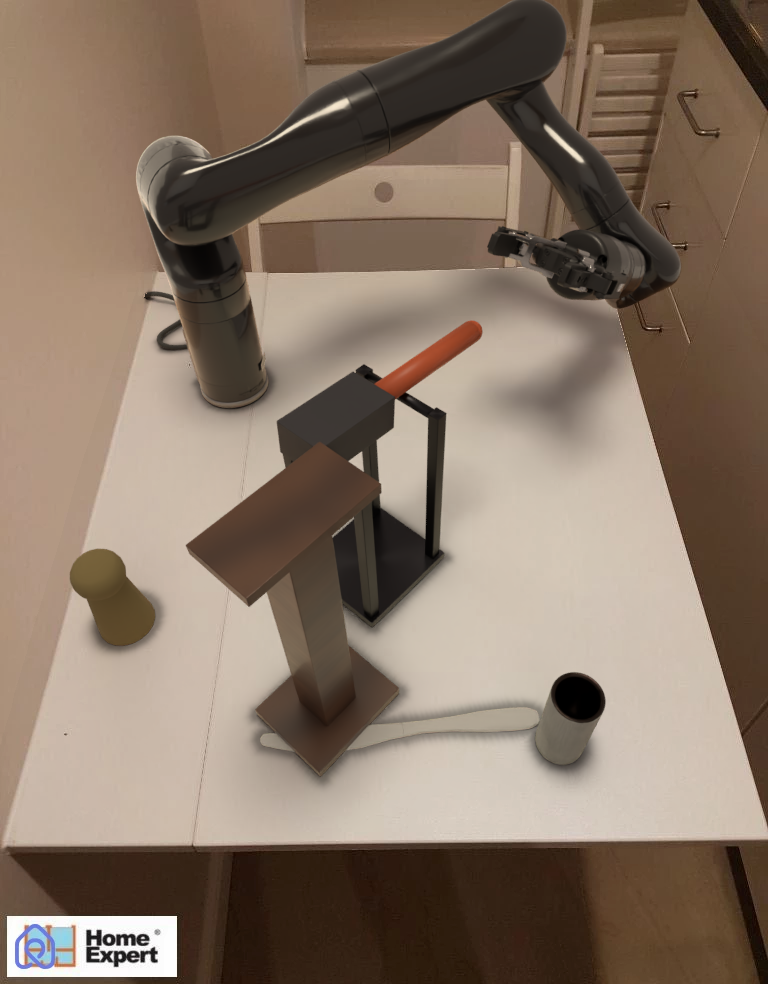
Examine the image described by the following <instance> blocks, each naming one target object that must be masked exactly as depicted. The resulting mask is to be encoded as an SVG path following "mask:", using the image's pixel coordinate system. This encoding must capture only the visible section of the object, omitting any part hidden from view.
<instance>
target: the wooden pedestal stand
mask: <svg viewBox="0 0 768 984" xmlns="http://www.w3.org/2000/svg"><path fill="white" fill-rule="evenodd" d="M382 491H383V490H382V483H381V482H380V481H379V482H378V481H376V480H375V479H373V478H372V477H370V476H369V475H368V474H366V473H365V472H364V470H362V469H360V468H359V467H358V466H356V465H354V464H353V463H352V462H350V460H349V461H347V460H346V459H344V458H343V457H341V456H340V455H338V454H337V453H336V452H334V451H333V450H331V449H330V448H328V447H327V446H325V445H324V444H322V443H321V442H319V443H317V444H316V445H315V446H313V447H312V448H311V449H309V450H308V451H307V452H306V453H304V454H303V455H302V456H300V457H299V458H298V459H296V460H295V461H294V462H293V463H291V464H290V465H289V466H287V467H286V468H285V467H284V469H282V470H281V471H280V472H278V473H277V474H275V475H274V476H273V477H272V478H271V479H269V480H268V481H266V482H265V483H264V484H262V485H261V486H260V487H259V488H258V489H257V490H255V491H253V492H252V493H251V494H250V495H248V496H247V497H246V498H245V499H243V500H242V501H241V502H239V503H238V504H237V505H235V506H234V507H233V508H232V509H230V510H229V511H228V512H226V513H225V514H224V515H222V516H221V517H219V519H217V520H216V521H215V522H213V523H212V524H210V525H209V526H208V527H207V528H206V529H205V530H203V531H202V532H200V533H199V534H198V535H196V536H195V537H194V538H193V539H191V540H190V541H188V543H186V544H185V547H186V550H187V552H188V554H189V555H190V556H191V557H192V558H193V559H194V560H196V561H197V562H198V563H199V564H200V565H201V566H202V567H203V568H205V570H207V571H208V572H209V573H210V574H211V575H212V576H213V577H214V578H216V579H217V580H218V581H219V582H220V583H221V584H222V585H224V586H225V587H226V588H227V589H228V590H229V591H230V592H231V593H233V595H234V596H235V597H237V598H238V599H239V600H240V601H241V602H243V603H244V604H245V605H246V606H247V607H249V608H251V606H253V605H254V604H255V603H256V602H257V601H258V600H259V599H261V598H262V597H263V596H264V595H265V594H267V599H268V601H269V606H270V608H271V611H272V615H273V618H274V621H275V626H276V628H277V632H278V635H279V638H280V642H281V645H282V648H283V652H284V656H285V658H286V662H287V665H288V669H289V672H290V675H289V677H287V679H285V681H283V682H282V683H281V684H280V685H279V686H278V687H277V688H276V689H275V690H274V691H273V692H272V693H271V694H270V695H268V697H267V698H265V699H264V701H262V702H261V703H260V704H259V705H258V706H257V707H256V708H255V709H254V712H255V713H256V715H257V716H258V717H259V718H260V719H261V720H262V721H263V722H264V723H265V724H266V725H267V726H268V727H269V728H270V729H271V730H272V731H273V733H277V734H278V735H279V736H280V737H281V738H282V739H283V740H284V741H285V742H286V743H287V744H288V745H289V746H290V747H291V748H292V749H293V750H294V751H295V752H294V753H295V754H297V755H298V756H299V757H300V758H301V759H302V760H303V761H304V762H305V764H307V765H308V766H309V767H310V768H311V770H312V771H314V772H315V774H317V776H319V777H322V776H323V775H324V774H325V773H326V772H327V771H328V769H330V768H331V766H332V765H333V764H334V763H335V762H336V761H337V760H338V759H339V758H340V757H341V756H342V755H343V754H344V753H345V752H346V751H347V750H346V749H347V748H348V747H349V746H350V745H351V744H352V743H353V742H354V741H355V739H356V738H357V737H358V736H359V735H360V734H361V733H362V732H363V731H364V730H365V729H366V728H367V726H368V725H372V723H373V722H374V721H375V719H377V718H378V717H379V715H380V714H381V713H382V712H383V711H384V710H385V709H386V708H387V707H388V706H389V705H390V704H391V703H392V701H394V699H396V697H397V696H398V695H399V694H400V687H398V686H397V685H396V684H395V683H394V682H393V681H392V680H390V679H389V678H388V677H387V676H385V674H383V673H382V672H381V671H379V669H377V668H376V667H375V666H374V665H373V664H371V662H369V661H368V660H366V659H365V658H364V657H363V656H362V655H361V654H359V653H358V652H357V651H356V650H355V649H353V647H351V646H350V645H349V640H348V634H347V633H348V632H347V627H346V620H345V613H344V606H343V603H342V599H341V592H340V585H339V579H338V572H337V565H336V558H335V551H334V545H333V535H336V534H337V533H338V531H340V529H342V528H344V527H345V525H347V524H348V522H351V521H352V520H353V519H354V516H355V515H357V514H358V513H359V512H360V511H361V510H362V509H363V508H365V507H366V506H367V505H368V504H369V503H370V502H372V501H373V500H374V499H375V498H376V497H377V496H379V495H380V496H381V494H382V493H383V492H382ZM345 750H346V751H345Z"/></svg>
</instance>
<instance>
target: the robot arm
mask: <svg viewBox="0 0 768 984" xmlns="http://www.w3.org/2000/svg"><path fill="white" fill-rule="evenodd" d="M567 31H568V30H567V26H566V22H565V20H564V18H563V15H562V14H561V13H560V11H559V10H558V8H556V6H554V5H553V4H552V3H550V2H549V1H546V0H510V1H508V2H506V3H505V4H503V5H502V6H500V7H498V8H497V9H496V10H495V9H494V11H492V12H490V13H489V14H486V15H485V16H484V17H482V18H481V19H479V20H477V21H476V22H474V23H472V24H470V25H468V26H467V27H465V28H463V29H462V30H459V31H457V32H455V33H453V34H451V35H450V36H448V37H445V38H443V39H441V40H438V41H435V42H432V43H430V44H427V45H423V46H421V47H420V46H419V47H417V48H414V49H411V50H409V51H405V52H402V53H400V54H396V55H395V56H392V57H389V58H386V59H383V60H381V61H378V62H376V63H373V64H370V65H368V66H365V67H362V68H360V69H359V68H358V69H357V70H355V71H353V72H351V73H348V74H346V75H344V76H341V77H339V78H337V79H333V80H332V81H329V82H327V83H325V84H323V85H322V86H320V87H318V88H316V89H315V90H313V91H312V92H311V93H310V94H308V95H307V96H306V97H305V98H304V99H303V100H302V101H301V102H299V104H298V105H297V106H296V107H295V108H293V110H292V111H291V112H290V113H289V114H288V115H287V116H286V117H285V119H283V121H282V122H281V123H280V124H279V125H278V126H277V127H276V128H275V129H274V130H272V131H271V132H269V134H267V135H266V136H264V137H263V138H261V139H260V140H257V141H255V142H253V143H251V144H250V145H247V146H245V147H242V148H239V149H237V150H234V151H233V152H230V153H227V154H224V155H220V156H218V157H215V158H214V157H213V155H212V154H211V153H210V152H209V151H208V150H207V148H205V147H204V146H203V145H201V143H199V142H197V141H196V140H194V139H191V138H189V137H186V136H182V135H167V136H163V137H160V138H158V139H155V140H154V141H153V142H152V143H150V144H149V145H148V146H147V147H146V149H144V151H143V152H142V154H141V156H140V158H139V160H138V162H137V165H136V173H135V181H136V183H135V184H136V189H137V193H138V197H139V200H140V204H141V207H142V210H143V213H144V216H145V219H146V223H147V227H148V228H149V231H150V235H151V237H152V240H153V243H154V247H155V250H156V253H157V256H158V259H159V261H160V263H161V266H162V269H163V271H164V274H165V276H166V279H167V281H168V284H169V287H170V291H171V294H170V293H167V292H162V291H155V290H154V291H153V290H152V291H147V292H145V293H144V294H145V297H144V298H143V299H148V298H151V297H159V298H164V299H167V300H170V301H173V302H174V303H175V307H176V310H177V313H178V317H179V319H178V320H177V321H175V322H173V323H171V324H170V325H168V326H167V327H165V328H164V329H162V330H161V331H160V332H159V333H158V335H157V336H156V343H157V345H158V346H159V347H161V348H162V349H165V350H168V351H170V350H171V351H182V350H188V354H189V357H190V360H191V363H192V366H193V370H194V373H195V376H196V379H197V383H198V384H199V388H200V391H201V395H202V397H203V398H204V399H205V400H206V401H207V402H208V403H210V404H211V405H213V406H215V407H219V408H223V409H234V408H242V407H245V406H247V405H250V404H252V403H254V402H255V401H257V400H259V399H260V398H261V397H262V396H263V395H264V394H265V392H266V391H267V389H268V387H269V376H268V372H267V370H266V369H267V368H266V365H265V364H266V360H267V357H266V353H265V351H264V352H263V350H262V344H261V340H260V336H259V331H258V326H257V320H256V317H255V311H254V306H253V302H252V296H251V291H250V287H249V282H248V278H247V273H246V269H245V268H246V267H245V264H244V259H243V256H242V255H243V254H242V253H241V250H240V248H239V246H238V243H237V241H236V238H235V236H234V233H236V232H237V231H239V230H241V229H243V228H244V227H246V226H247V225H249V224H251V223H252V222H254V221H256V220H257V219H259V218H261V217H262V216H264V215H266V214H267V213H269V212H270V211H273V210H274V209H276V208H277V207H280V206H281V205H283V204H285V203H288V202H289V201H291V200H292V199H295V198H297V197H299V196H302V195H303V194H306V193H308V192H310V191H312V190H315V189H317V188H319V187H321V186H323V185H325V184H327V183H329V182H331V181H333V180H335V179H337V178H340V177H342V176H344V175H346V174H349V173H352V172H354V171H356V170H359V169H361V168H364V167H366V166H368V165H371V164H373V163H375V162H377V161H379V160H382V159H384V158H385V157H388V156H390V155H392V154H394V153H396V152H397V151H399V150H402V149H403V148H405V147H407V146H409V145H410V144H412V143H414V142H415V141H418V140H419V139H420V138H422V137H424V136H425V135H426V134H428V133H430V132H432V131H433V130H434V129H436V128H437V127H439V126H440V125H442V124H444V123H445V122H447V120H449V119H451V118H452V117H454V116H455V115H457V114H459V113H460V112H461V111H464V110H465V109H468V108H470V107H472V106H474V105H476V104H479V103H481V102H484V101H486V102H487V103H488V105H489V106H490V107H491V108H492V109H493V110H494V111H495V113H496V114H497V115H498V117H500V118H501V120H502V121H504V123H505V124H506V126H507V127H508V128H509V129H510V130H511V132H512V134H514V136H515V137H516V138H517V140H518V141H519V142H520V143H521V144H522V146H523V147H524V148H525V149H526V151H527V152H528V153H529V154H530V156H531V157H532V158H533V160H534V161H535V162H536V164H537V165H538V166H539V168H540V169H541V170H542V172H543V173H544V174H545V176H546V177H547V179H548V180H549V182H550V184H551V185H552V186H553V188H554V189H555V191H556V192H557V193H556V194H558V196H559V197H560V199H561V201H562V203H563V204H564V206H565V208H566V209H567V211H568V213H569V214H570V216H571V218H572V219H573V221H574V223H575V225H576V226H577V228H578V229H573V230H570V231H568V232H566V233H563V234H562V235H560V236H559V237H558V238H555V237H552V238H548V237H545V236H542V235H538V234H535V233H532V232H531V233H529V231H526V230H524V231H523V230H520V229H519V230H518V229H513V228H509V227H506V226H504V225H502V226H499V225H498V227H497V230H496V231H495V232H494V233H491V236H490V238H489V241H488V244H487V246H486V247H487V253H488V254H490V255H492V256H496V257H503V258H506V259H508V258H509V259H512V260H516V262H517V264H518V265H519V266H521V267H522V268H524V269H528V270H531V271H534V272H537V273H539V274H540V275H542V276H543V277H545V278H546V281H547V284H548V285H549V287H550V288H551V290H552V291H553V292H554V293H555V294H557V295H558V296H559V297H561V298H563V299H566V300H573V301H602V300H605V302H606V303H607V304H608V305H609V306H610V308H612V309H616V310H619V309H620V310H621V309H624V308H628V307H631V306H634V305H635V304H637V303H639V302H641V301H644V300H645V299H647V298H650V297H651V296H654V295H656V294H658V293H660V292H662V291H664V290H666V289H668V288H671V287H672V286H673V285H675V284H676V283H677V282H678V280H679V279H680V277H681V273H682V260H681V256H680V254H679V251H678V250H677V249H676V248H675V247H676V246H674V245H673V244H672V242H671V241H669V239H667V238H666V237H665V236H664V235H663V234H662V233H661V232H660V230H659V231H658V229H656V228H655V227H654V226H653V224H651V223H650V222H649V221H648V219H646V217H645V216H644V215H643V214H642V213H641V212H640V211H639V209H638V208H637V206H636V205H635V204H634V203H633V201H632V199H631V198H630V196H629V194H628V192H627V190H626V189H625V186H624V185H623V182H622V181H621V179H620V178H619V176H618V174H617V171H616V170H615V169H614V168H613V166H612V164H611V163H610V162H609V160H608V159H607V158H606V157H605V156H604V154H602V152H601V151H600V150H599V149H598V148H597V147H596V146H595V145H594V144H593V143H591V141H589V140H588V139H587V138H586V137H585V136H584V135H583V134H582V133H580V132H579V131H578V130H577V129H576V128H575V127H574V126H573V125H572V124H571V123H570V122H569V121H568V120H567V118H566V117H565V116H564V115H563V114H562V113H561V112H560V110H559V109H558V107H557V106H556V104H555V103H554V101H553V99H552V97H551V96H550V94H549V92H548V90H547V87H546V86H545V82H546V81H547V80H548V79H549V78H550V77H552V75H553V73H554V72H555V71H556V70H557V68H558V66H559V65H560V63H561V61H562V59H563V56H564V55H565V51H566V48H567V47H566V46H567V40H568V32H567ZM531 259H532V260H533V262H534V263H532V262H530V261H531ZM146 293H147V294H146ZM180 326H182V329H181V330H182V335H183V338H184V341H185V344H168V343H165V342H163V338H164V336H166V335H167V334H168V333H170V332H171V331H173V330H174V329H176V328H178V327H180Z"/></svg>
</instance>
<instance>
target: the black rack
mask: <svg viewBox="0 0 768 984" xmlns="http://www.w3.org/2000/svg"><path fill="white" fill-rule="evenodd" d="M355 373H357V374H358V375H360V376H362V377H363V378H365V379H367V380H368V381H370V382H371V383H373V384H375V383H376V382H378V381H379V380H381V379H382V378H383V377H381V375H378V374H376V373H375V372H374V369H373V368H372V367H370V366H368V365H366V364H365V363H364V364H362V365H361V366H359V367H357V368H356V369H355ZM396 400H397V401H399V402H400V403H402V404H404V406H407V407H409V408H410V409H412V410H414V411H415V412H417V413H418V414H420V415H422V416H423V417H425V418H426V419H427V443H426V444H427V447H426V449H427V451H426V453H427V454H426V485H425V486H426V487H425V496H426V497H425V527H424V528H425V529H424V530H425V531H424V532H425V533H424V537H423V536H422V535H420V534H419V533H417V532H416V531H415V530H413V529H412V528H410V527H409V526H408V525H406V524H405V523H403V522H402V521H400V520H399V519H398V518H396V517H395V516H394V515H392V514H391V513H389V512H387V510H385V509H383V508H382V507H381V494H380V495H379V496H377V497H376V498H375V499H374V500H373V501H372V502H370V503H369V504H368V505H367V506H366V507H365V508H363V509H362V510H361V511H360V512H359V513H358V514H357V515H355V516H354V517H353V519H351V520H350V521H349V523H347V524H346V526H343V527H342V528H341V530H339V532H336V533H335V534H334V536H332V538H333V545H334V551H335V558H336V565H337V572H338V579H339V585H340V592H341V599H342V605H344V606H345V607H346V608H347V609H349V611H351V612H352V613H353V614H354V615H356V616H357V617H358V618H360V619H361V620H362V621H363V622H364V623H366V624H367V625H368V626H369V627H370V628H373V627H375V626H376V625H377V624H378V623H379V622H380V621H381V620H382V619H383V618H384V617H385V616H386V615H387V614H388V613H390V611H391V610H392V609H393V608H394V607H395V606H396V605H398V603H399V602H400V601H401V600H402V599H403V598H404V597H405V596H406V595H407V594H408V593H410V591H412V590H413V588H415V586H416V585H418V584H419V583H420V582H421V581H422V580H423V579H424V578H425V577H426V576H427V575H428V574H429V573H430V572H431V571H432V570H433V569H434V568H435V567H436V566H437V565H438V564H439V563H440V562H441V561H442V560H443V559H444V558H445V552H444V551H443V550H441V549H440V548H441V547H440V546H441V545H440V544H441V528H442V507H443V489H444V488H443V487H444V469H445V467H444V466H445V450H446V430H447V412H446V411H444V410H443V409H441V408H439V407H434V408H433V407H431V405H428V404H426V403H425V402H423V401H421V399H418V398H416V396H415V397H414V396H413V395H411V394H410V393H408V392H405V393H404V394H402V395H401V396H400V397H398V398H397V399H396ZM276 429H277V428H276ZM277 431H278V429H277ZM361 457H362V466H363V468H362V469H363V470H362V471H363V472H365V473H366V474H368V475H369V476H370V477H372V478H373V479H375V480H376V481H378V482H379V483H380V473H379V458H378V457H379V455H378V440H377V441H375V442H374V443H373V444H371V445H370V446H368V447H367V448H366V449H364V450H363V451H362V452H361ZM282 458H283V463H284V469H285V468H286V467H287V466H289V465H290V464H291V463H293V461H292V460H290V459H289V458H288V457H286V456H285V455H283V454H282Z"/></svg>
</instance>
